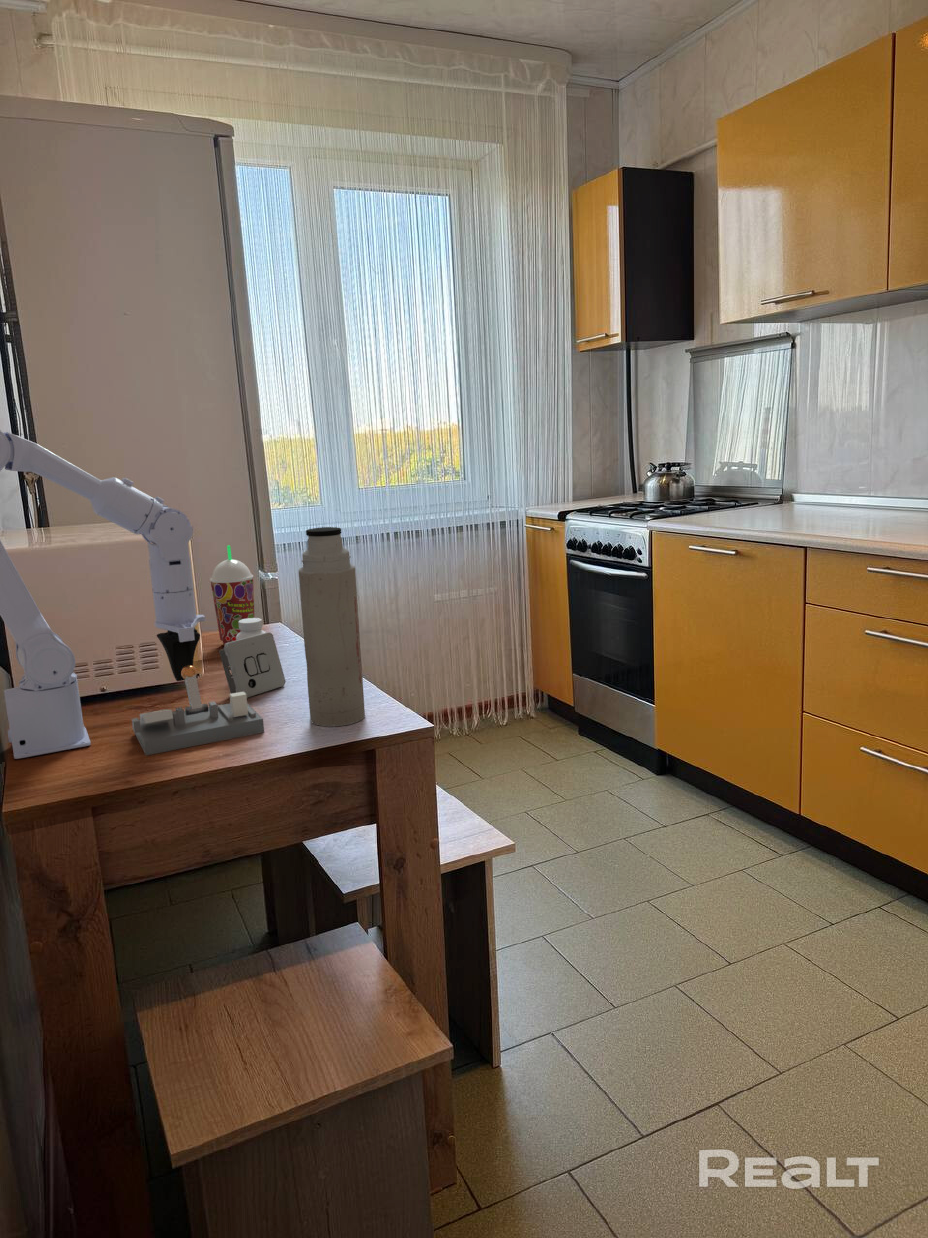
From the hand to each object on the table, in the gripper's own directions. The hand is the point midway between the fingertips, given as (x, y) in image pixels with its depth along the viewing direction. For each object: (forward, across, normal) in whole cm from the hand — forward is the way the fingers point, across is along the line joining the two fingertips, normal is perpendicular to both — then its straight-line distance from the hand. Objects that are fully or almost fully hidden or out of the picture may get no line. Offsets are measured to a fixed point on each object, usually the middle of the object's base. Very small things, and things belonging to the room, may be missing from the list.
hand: (183, 679), depth 130 cm
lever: (+2, -8, 0) cm, 9 cm away
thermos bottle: (+6, -14, -19) cm, 24 cm away
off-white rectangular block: (+4, -11, -5) cm, 12 cm away
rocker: (+2, -8, +6) cm, 10 cm away
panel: (+6, -8, 0) cm, 10 cm away
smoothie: (+6, +42, -18) cm, 46 cm away
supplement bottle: (+6, +18, -15) cm, 24 cm away
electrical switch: (+6, +8, -12) cm, 15 cm away
